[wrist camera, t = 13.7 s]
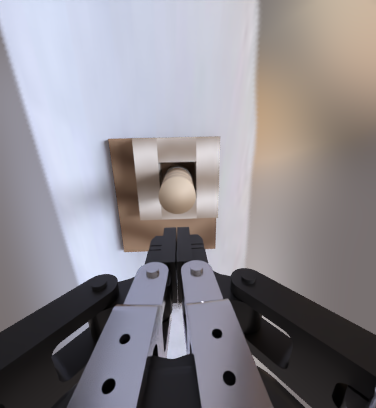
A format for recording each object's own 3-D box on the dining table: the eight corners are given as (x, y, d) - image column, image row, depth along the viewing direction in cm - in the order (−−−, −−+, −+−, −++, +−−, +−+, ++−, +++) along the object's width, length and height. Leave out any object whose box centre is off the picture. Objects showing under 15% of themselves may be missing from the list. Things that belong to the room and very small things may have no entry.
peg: (164, 163, 32) (156, 177, 20) (190, 162, 32) (196, 176, 20) (165, 188, 33) (158, 215, 22) (190, 188, 33) (196, 214, 22)
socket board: (111, 138, 32) (97, 139, 26) (216, 136, 32) (223, 136, 27) (126, 247, 38) (117, 265, 33) (213, 244, 38) (219, 261, 33)
